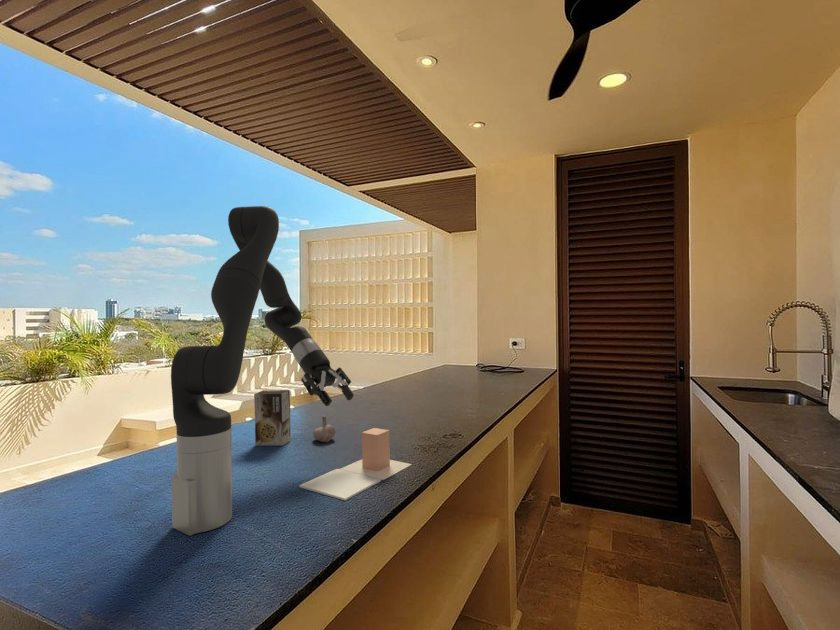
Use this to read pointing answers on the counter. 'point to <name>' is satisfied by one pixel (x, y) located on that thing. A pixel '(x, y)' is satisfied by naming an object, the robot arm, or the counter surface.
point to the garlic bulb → (324, 432)
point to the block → (375, 449)
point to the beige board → (340, 484)
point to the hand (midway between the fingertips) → (340, 401)
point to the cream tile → (382, 474)
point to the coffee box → (272, 417)
